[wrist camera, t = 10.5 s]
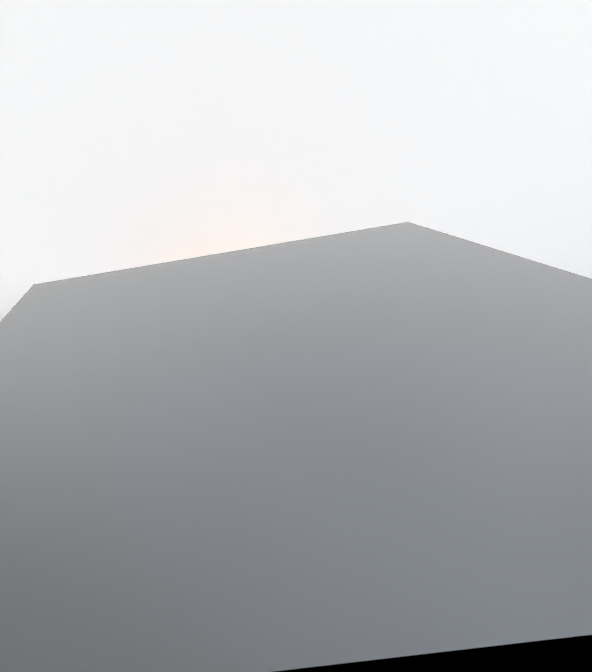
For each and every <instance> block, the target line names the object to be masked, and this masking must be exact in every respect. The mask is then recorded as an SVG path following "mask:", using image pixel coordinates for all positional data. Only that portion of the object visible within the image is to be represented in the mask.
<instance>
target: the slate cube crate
mask: <svg viewBox="0 0 592 672" xmlns="http://www.w3.org/2000/svg"><path fill="white" fill-rule="evenodd" d="M0 672H592V279H590V278H587V277H583V276H580V275H577V274H574V273H571V272H567V271H564V270H561V269H558V268H554V267H551V266H548V265H545V264H542V263H538V262H535V261H532V260H529V259H525V258H522V257H519V256H516V255H513V254H509V253H506V252H503V251H500V250H497V249H493V248H490V247H487V246H484V245H480V244H477V243H474V242H471V241H468V240H464V239H461V238H458V237H455V236H451V235H448V234H445V233H442V232H439V231H435V230H432V229H429V228H426V227H422V226H419V225H416V224H413V223H410V222H405V223H399V224H393V225H387V226H381V227H375V228H370V229H364V230H358V231H352V232H346V233H340V234H334V235H328V236H322V237H316V238H310V239H304V240H298V241H292V242H286V243H280V244H274V245H268V246H262V247H256V248H250V249H244V250H238V251H232V252H226V253H220V254H214V255H208V256H202V257H196V258H190V259H184V260H178V261H172V262H166V263H160V264H154V265H148V266H142V267H136V268H130V269H124V270H118V271H112V272H106V273H100V274H94V275H88V276H82V277H76V278H70V279H64V280H58V281H52V282H47V283H41V284H35V285H33V286H32V287H31V288H30V289H29V290H28V292H27V293H26V294H25V295H24V296H23V297H22V298H21V299H20V301H19V302H18V303H17V304H16V305H15V306H14V307H13V308H12V310H11V311H10V312H9V313H8V314H7V315H6V316H5V317H4V318H3V320H2V321H1V322H0Z"/></svg>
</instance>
